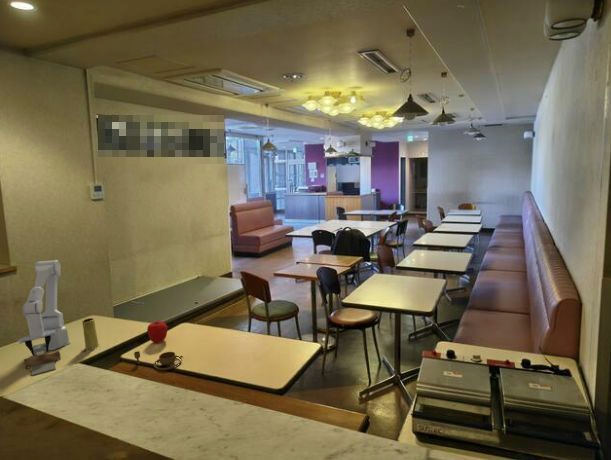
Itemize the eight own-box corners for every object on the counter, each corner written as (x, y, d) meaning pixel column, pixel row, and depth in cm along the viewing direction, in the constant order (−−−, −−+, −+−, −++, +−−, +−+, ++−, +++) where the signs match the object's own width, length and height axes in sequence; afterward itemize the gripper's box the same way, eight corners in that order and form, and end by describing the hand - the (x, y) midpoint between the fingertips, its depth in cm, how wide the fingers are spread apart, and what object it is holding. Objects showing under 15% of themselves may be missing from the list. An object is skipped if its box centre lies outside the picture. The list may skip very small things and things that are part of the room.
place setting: (158, 377, 177) (156, 365, 176) (132, 365, 189) (131, 353, 188) (192, 360, 191) (190, 348, 190) (166, 350, 203) (164, 338, 202)
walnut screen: (60, 358, 199) (59, 350, 199) (60, 359, 198) (59, 351, 198) (25, 367, 192) (23, 359, 191) (25, 368, 191) (23, 360, 190)
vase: (85, 350, 206) (81, 323, 204) (85, 346, 211) (81, 319, 209) (99, 347, 209) (95, 320, 206) (98, 343, 214) (94, 316, 212)
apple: (164, 345, 207) (162, 325, 205) (145, 346, 207) (142, 325, 205) (171, 337, 217) (169, 317, 215) (153, 337, 217) (150, 318, 215)
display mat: (54, 361, 196) (54, 360, 196) (55, 369, 188) (55, 368, 188) (31, 367, 191) (31, 366, 191) (32, 375, 184) (31, 374, 183)
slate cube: (47, 352, 202) (45, 342, 201) (47, 356, 198) (45, 346, 197) (34, 355, 199) (33, 345, 198) (34, 359, 195) (33, 349, 194)
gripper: (16, 333, 189) (22, 361, 191) (54, 324, 196) (58, 351, 199) (17, 328, 194) (22, 355, 197) (53, 320, 202) (57, 346, 205)
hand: (40, 353), depth 198 cm, fingers closed on slate cube, 5 cm apart
